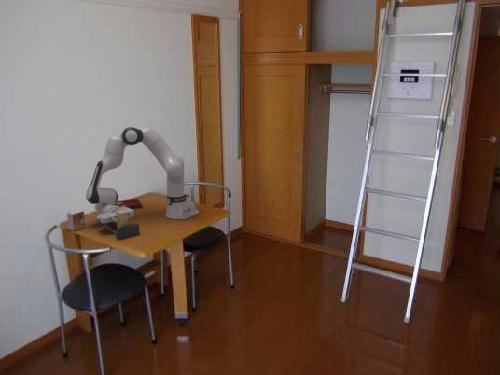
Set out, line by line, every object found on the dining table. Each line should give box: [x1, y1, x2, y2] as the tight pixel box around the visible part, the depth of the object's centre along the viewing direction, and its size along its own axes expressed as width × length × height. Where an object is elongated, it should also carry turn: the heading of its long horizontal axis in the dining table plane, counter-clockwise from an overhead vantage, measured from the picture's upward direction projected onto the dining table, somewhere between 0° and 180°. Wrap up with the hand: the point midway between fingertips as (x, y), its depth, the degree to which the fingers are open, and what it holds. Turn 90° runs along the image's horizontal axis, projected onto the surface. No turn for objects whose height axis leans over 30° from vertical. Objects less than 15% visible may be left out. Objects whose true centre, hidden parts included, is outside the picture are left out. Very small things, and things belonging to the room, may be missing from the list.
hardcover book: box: [116, 198, 144, 210], centre depth 291 cm, size 12×21×4 cm, turn 118°
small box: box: [66, 209, 86, 232], centre depth 252 cm, size 8×6×10 cm
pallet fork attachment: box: [102, 222, 140, 241], centre depth 250 cm, size 13×24×6 cm, turn 44°
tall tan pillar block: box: [116, 210, 129, 229], centre depth 246 cm, size 4×4×10 cm
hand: (122, 219), depth 245 cm, fingers closed on tall tan pillar block, 4 cm apart
